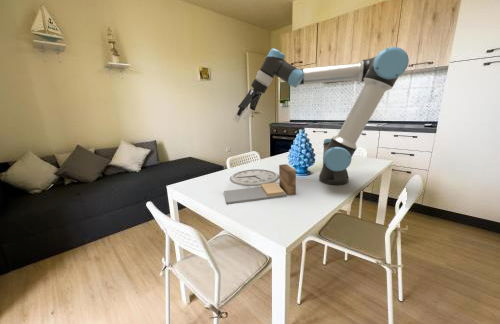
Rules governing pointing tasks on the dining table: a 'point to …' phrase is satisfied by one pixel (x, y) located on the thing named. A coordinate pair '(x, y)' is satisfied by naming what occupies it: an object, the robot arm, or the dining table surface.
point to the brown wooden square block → (287, 179)
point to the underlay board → (254, 193)
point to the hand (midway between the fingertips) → (240, 120)
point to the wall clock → (254, 177)
